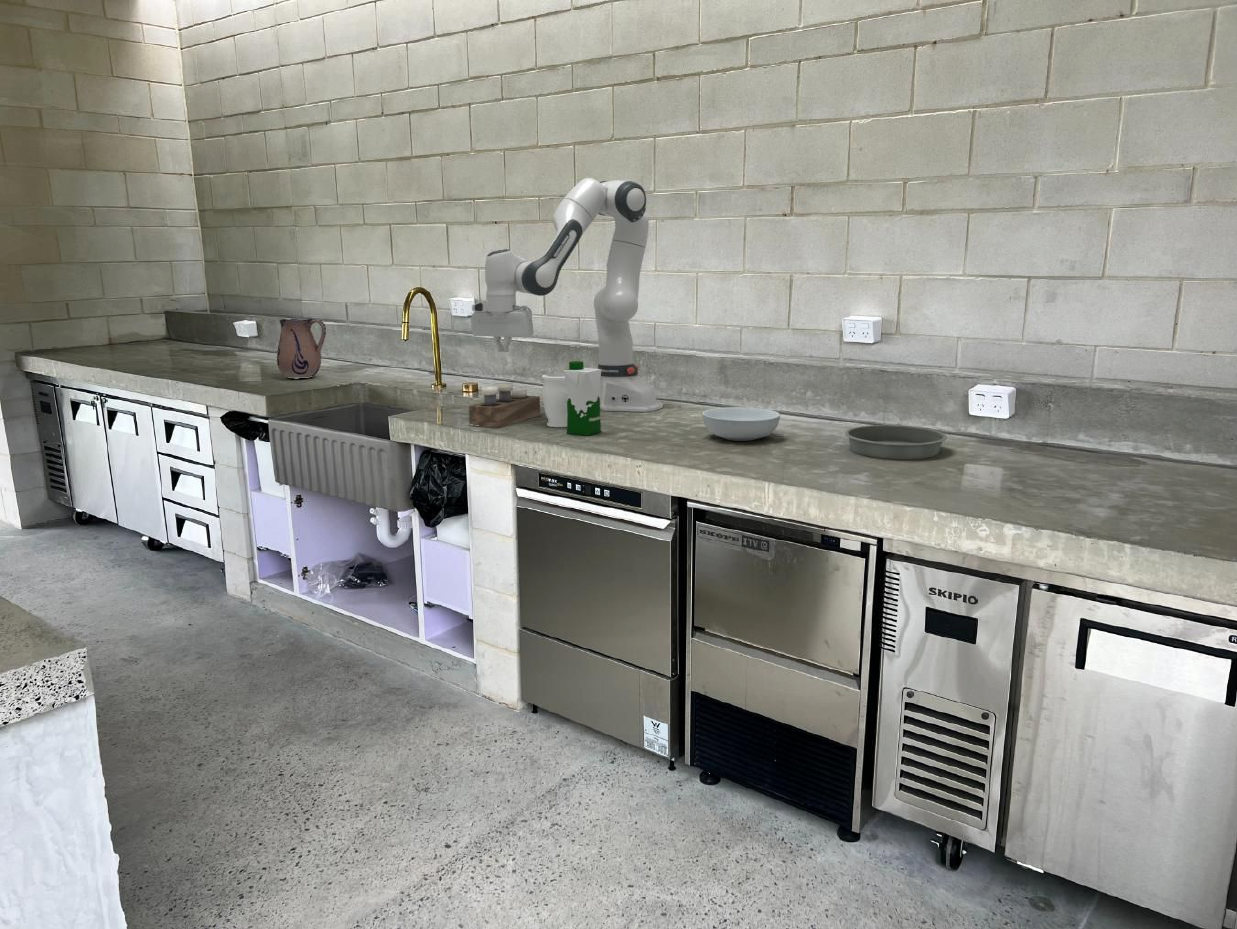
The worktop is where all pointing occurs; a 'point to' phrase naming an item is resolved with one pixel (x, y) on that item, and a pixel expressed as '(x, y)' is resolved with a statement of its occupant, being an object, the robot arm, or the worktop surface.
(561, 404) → the white cup
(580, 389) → the milk carton
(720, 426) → the serving bowl
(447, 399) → the worktop surface
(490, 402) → the knob
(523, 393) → the knob
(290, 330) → the ceramic pitcher
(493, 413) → the knob mount
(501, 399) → the knob middle
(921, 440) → the cake pan
